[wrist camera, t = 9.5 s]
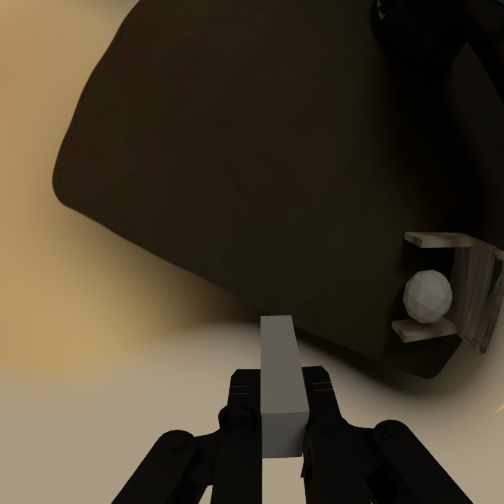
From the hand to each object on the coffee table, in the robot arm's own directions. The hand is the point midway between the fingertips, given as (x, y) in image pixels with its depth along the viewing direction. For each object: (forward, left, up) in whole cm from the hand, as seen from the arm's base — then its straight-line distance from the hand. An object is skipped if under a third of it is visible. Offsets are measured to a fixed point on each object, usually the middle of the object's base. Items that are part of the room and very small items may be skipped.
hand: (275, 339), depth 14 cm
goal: (-15, +22, -24) cm, 36 cm away
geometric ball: (-13, +21, -25) cm, 35 cm away
